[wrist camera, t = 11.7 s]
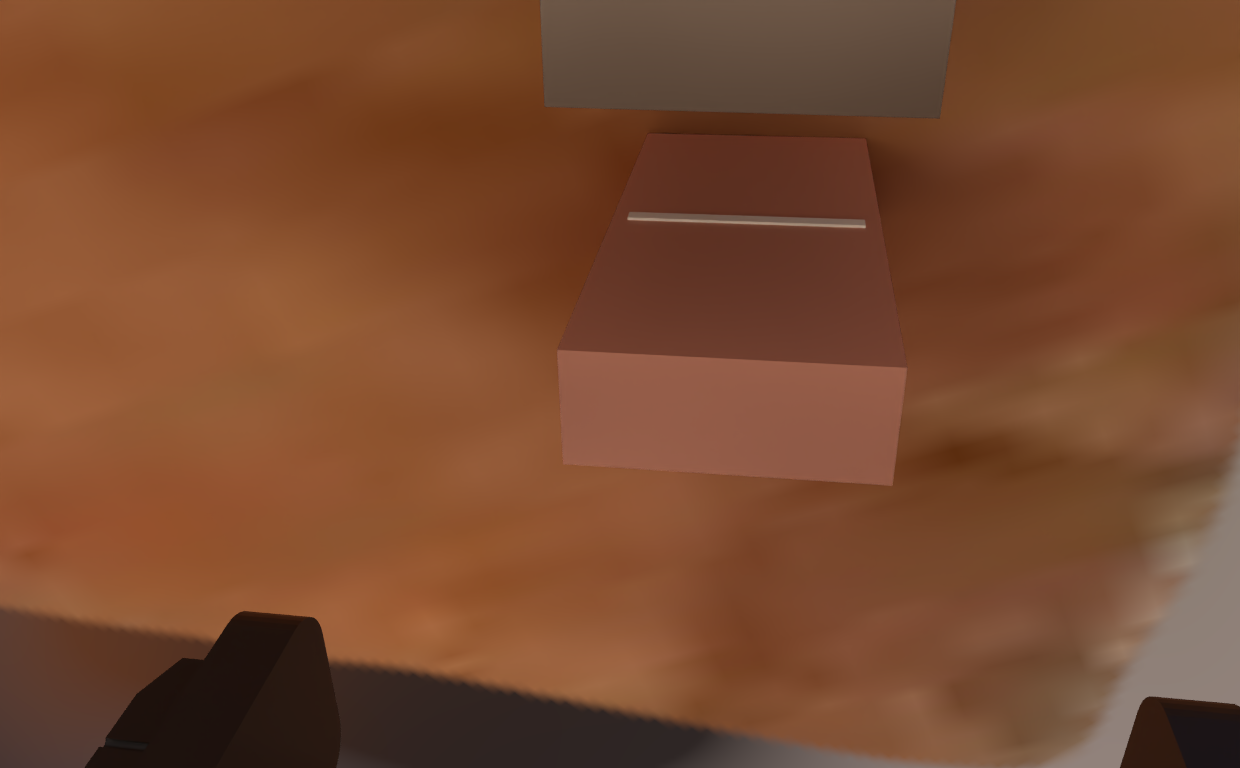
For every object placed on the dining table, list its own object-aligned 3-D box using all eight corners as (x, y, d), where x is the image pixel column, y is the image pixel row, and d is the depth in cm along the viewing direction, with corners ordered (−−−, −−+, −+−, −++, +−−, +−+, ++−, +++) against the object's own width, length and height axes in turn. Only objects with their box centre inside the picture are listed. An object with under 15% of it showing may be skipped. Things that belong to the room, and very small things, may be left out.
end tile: (648, 130, 25) (556, 347, 16) (865, 136, 25) (907, 364, 15) (648, 216, 26) (563, 466, 17) (857, 223, 26) (892, 488, 16)
